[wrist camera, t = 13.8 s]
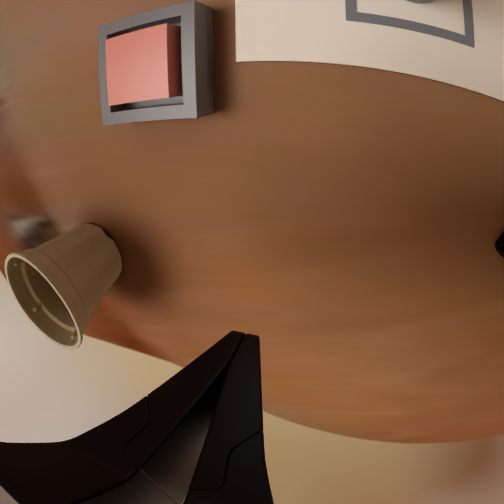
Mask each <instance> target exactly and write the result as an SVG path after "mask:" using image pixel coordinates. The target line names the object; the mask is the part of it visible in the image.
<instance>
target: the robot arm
mask: <svg viewBox="0 0 504 504" xmlns="http://www.w3.org/2000/svg"><path fill="white" fill-rule="evenodd" d="M502 244H503V246H502V247H500V246H501V245H502ZM495 248H496V250H497V251H498V253H499V254H500V255H501V256H502V257H503V258H504V232H503V233H502V234H501V236H500V237H499V238H498V240H497V241H496V243H495ZM185 496H186V498H185ZM184 498H185V500H184ZM183 500H184V502H183ZM182 502H183V504H274V503H273V498H272V493H271V489H270V484H269V479H268V474H267V468H266V462H265V453H264V435H263V412H262V387H261V362H260V338H259V336H258V335H253V334H246V335H245V333H243V332H238V331H231V332H230V333H228V334H227V335H226V336H225V337H223V338H222V339H221V340H219V341H218V342H217V343H216V344H214V345H213V346H212V347H211V348H209V349H208V350H207V351H205V352H204V353H203V354H202V355H200V356H199V357H198V358H196V359H195V360H194V361H192V362H191V363H190V364H189V365H187V366H186V367H185V368H183V369H182V370H181V371H179V372H178V373H177V374H175V375H174V376H173V377H172V378H170V379H169V380H167V381H166V382H165V383H163V384H162V385H161V386H160V387H158V388H157V389H155V390H154V391H152V392H151V393H150V394H148V397H147V396H145V397H144V398H143V399H141V400H140V401H139V402H137V403H136V404H134V405H133V406H131V407H130V408H128V409H127V410H125V411H124V412H122V413H120V414H119V415H117V416H115V417H114V418H112V419H110V420H108V421H106V422H105V423H103V424H101V425H99V426H97V427H95V428H93V429H91V430H89V431H87V432H85V433H83V434H82V435H79V436H77V437H75V438H73V439H70V440H66V441H62V442H53V443H6V442H0V504H182Z"/></svg>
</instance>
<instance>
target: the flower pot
mask: <svg viewBox="0 0 504 504" xmlns="http://www.w3.org/2000/svg"><path fill="white" fill-rule="evenodd" d="M121 270H122V260H121V256H120V252H119V250H118V248H117V246H116V244H115V242H114V241H113V240H112V239H110V238H109V237H108V236H107V235H106V234H105V233H104V232H103V229H102V228H100V227H98V226H96V225H93V224H82V225H80V226H78V227H76V228H74V229H73V230H71V231H68V232H66V233H64V234H62V235H60V236H58V237H56V238H54V239H52V240H50V241H48V242H46V243H44V244H42V245H40V246H38V247H36V248H34V249H27V250H25V251H23V252H21V253H19V252H13V253H11V254H9V255H8V257H7V258H6V260H5V273H6V278H7V281H8V284H9V287H10V289H11V291H12V293H13V295H14V297H15V299H16V301H17V303H18V304H19V306H20V307H21V309H22V310H23V312H24V313H25V315H26V316H27V317H28V318H29V320H30V321H31V322H32V323H33V324H34V325H35V327H37V329H38V330H39V331H41V332H42V333H43V334H44V335H45V336H46V337H47V338H49V339H50V340H51V341H53V342H54V343H56V344H58V345H60V346H62V347H65V348H68V349H76V348H78V347H79V346H80V345H81V343H82V339H83V335H82V334H83V333H84V331H85V329H86V327H87V323H88V320H89V318H90V317H91V315H92V314H93V312H94V311H95V309H96V308H97V306H98V305H99V303H100V302H101V300H102V299H103V297H104V296H105V294H106V293H107V292H108V290H109V289H110V287H111V286H112V285H113V283H114V282H115V281H116V279H117V278H118V277H119V275H120V273H121Z"/></svg>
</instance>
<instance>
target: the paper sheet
mask: <svg viewBox="0 0 504 504" xmlns="http://www.w3.org/2000/svg"><path fill="white" fill-rule="evenodd" d="M235 13H236V62H248V61H297V62H318V63H331V64H342V65H352V66H360V67H368V68H375V69H381V70H387V71H393V72H399V73H404V74H409V75H414V76H419V77H423V78H428V79H432V80H436V81H440V82H444V83H448V84H451V85H455V86H458V87H462V88H465V89H468V90H472V91H475V92H478V93H481V94H484V95H487V96H490V97H493V98H495V99H498V100H501V101H503V102H504V0H434V1H432V2H429V3H414V2H410V1H407V0H235Z"/></svg>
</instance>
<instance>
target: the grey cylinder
mask: <svg viewBox="0 0 504 504" xmlns="http://www.w3.org/2000/svg"><path fill="white" fill-rule="evenodd" d="M407 1H410V2H414V3H429V2H432V1H434V0H407Z"/></svg>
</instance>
